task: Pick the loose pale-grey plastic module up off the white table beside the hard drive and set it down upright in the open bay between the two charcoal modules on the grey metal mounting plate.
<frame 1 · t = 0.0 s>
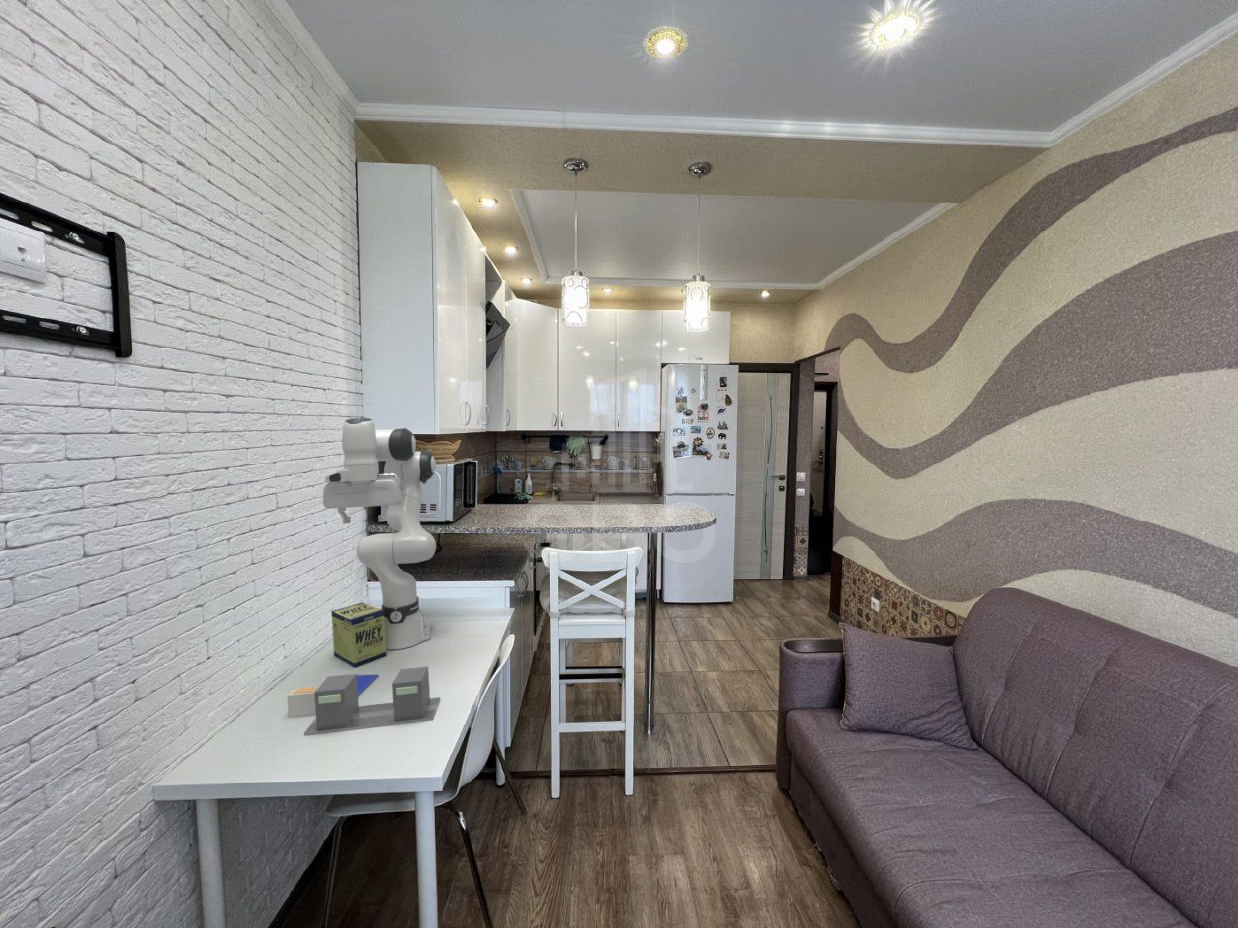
hand: (364, 522, 141), 48 cm above the table, fingers open, 8 cm apart
rail plate: (376, 716, 127), on the table
module 1: (338, 720, 125), resting on rail plate
protein box: (360, 656, 164), on the table
hard drive: (354, 690, 142), on the table
module 2: (412, 711, 128), resting on rail plate
loose module: (306, 712, 130), on the table
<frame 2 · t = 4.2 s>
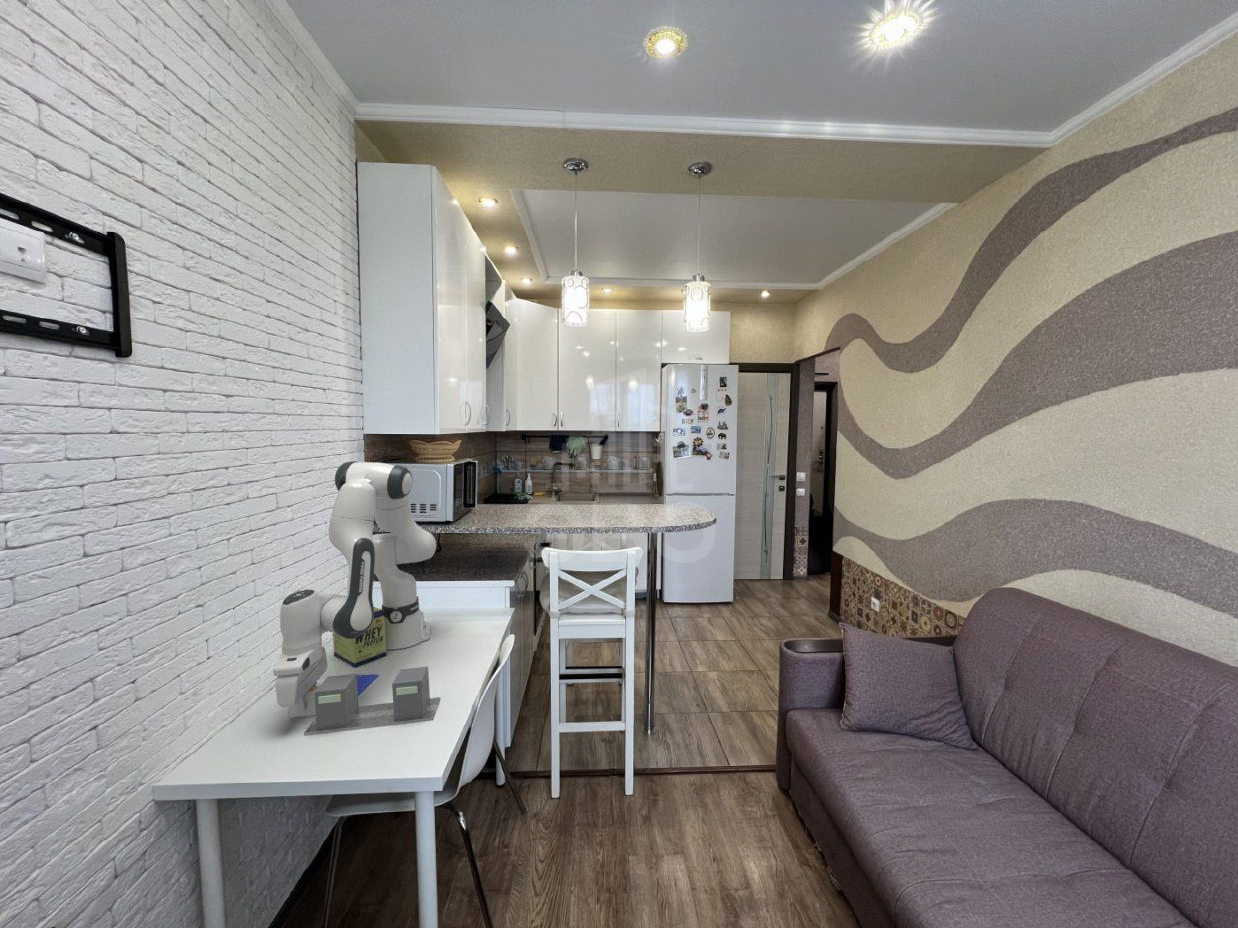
hand: (306, 704, 130), 2 cm above the table, fingers closed on loose module, 3 cm apart
loose module: (306, 712, 130), on the table, touching gripper
everything else where it was.
when the fingers open (3 cm above the table, at t = 9.9 s): loose module stays where it is, resting on rail plate.
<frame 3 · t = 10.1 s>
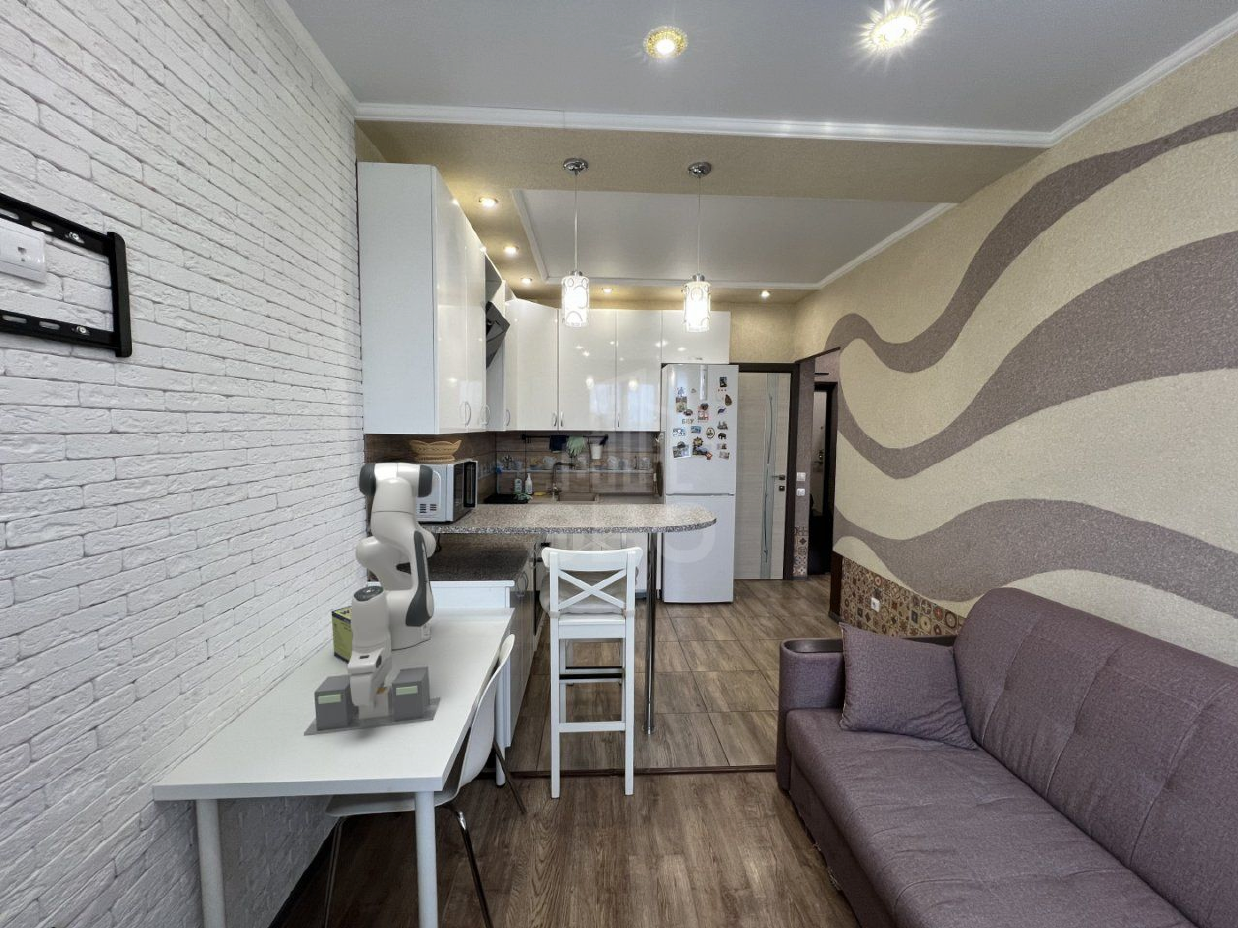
hand: (375, 703, 127), 3 cm above the table, fingers open, 5 cm apart
loose module: (376, 713, 127), point 1 cm above the table, touching rail plate
everything else where it was.
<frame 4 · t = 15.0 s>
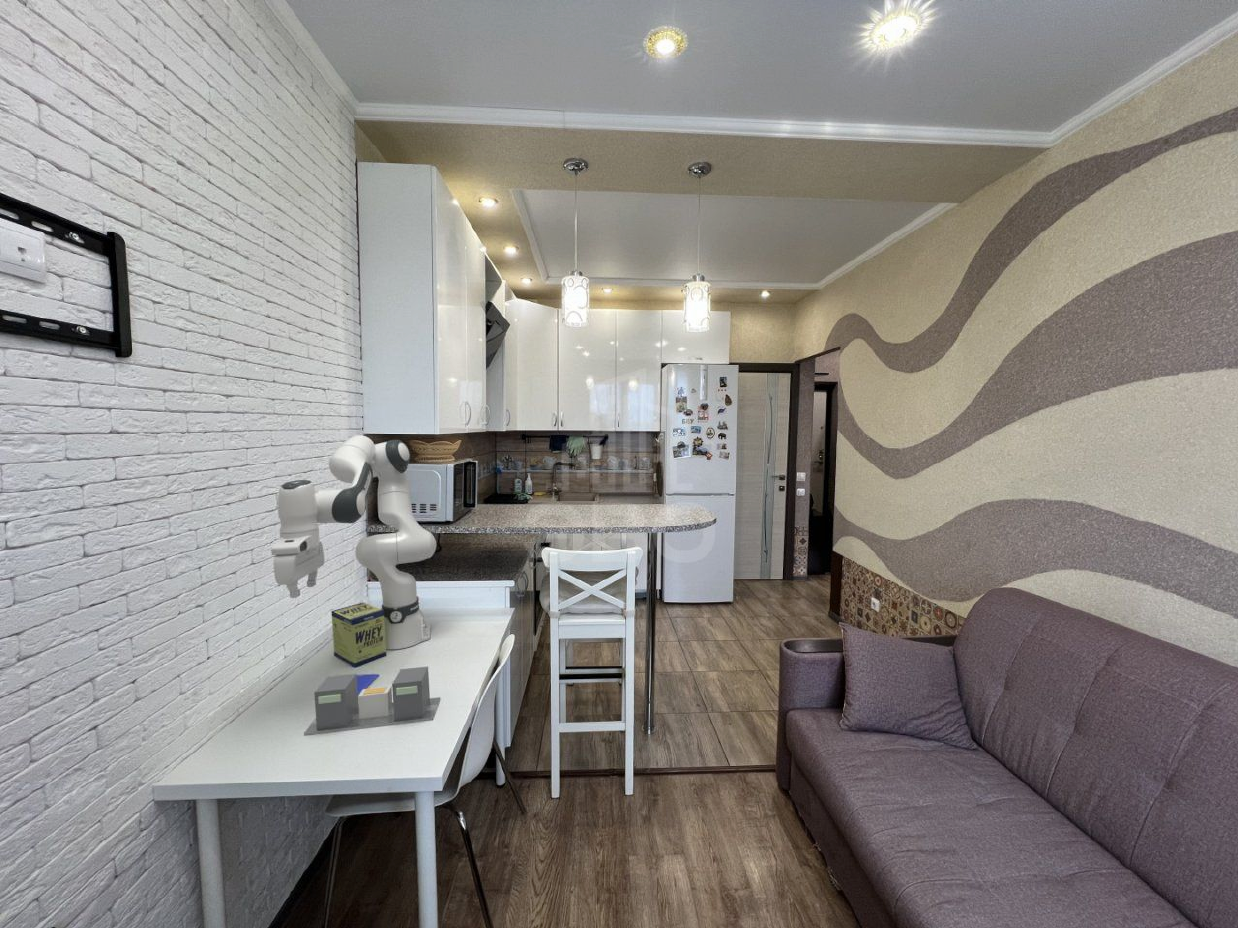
hand: (303, 591, 133), 31 cm above the table, fingers open, 8 cm apart
nothing on the table moved.
at the end: loose module inside the target area on the rail plate (0.1 cm from its centre), point 0.6 cm above the rail plate's base; loose module tilted 0°; the gripper is holding nothing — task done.
